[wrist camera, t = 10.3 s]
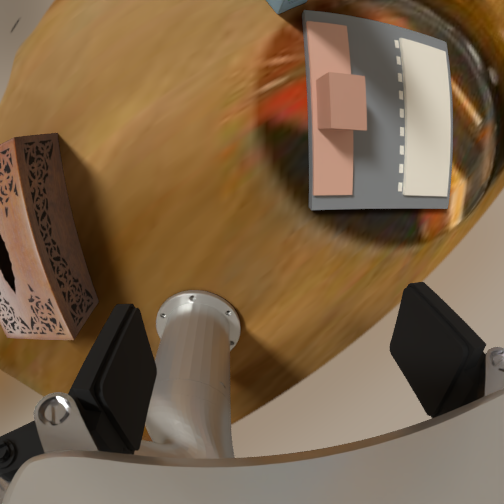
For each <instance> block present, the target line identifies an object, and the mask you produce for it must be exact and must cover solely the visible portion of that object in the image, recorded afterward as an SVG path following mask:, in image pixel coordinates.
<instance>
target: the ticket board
mask: <svg viewBox="0 0 504 504" xmlns="http://www.w3.org/2000/svg"><path fill="white" fill-rule="evenodd" d="M307 21H313V22H322V23H330V24H338V25H344V26H347V33H348V42H349V53H350V66H351V74H353V75H360V76H365V85H366V108H367V131H363V130H353V190H352V195H313V151H312V110H311V86H310V68H309V53H308V39H307V27H306V22H307ZM302 23H303V34H304V48H305V62H306V80H307V101H308V132H309V208H310V209H311V210H335V209H406V208H411V209H448V204H449V194H450V184H451V171H452V151H453V108H452V89H451V77H450V67H449V58H448V50H447V44H446V42H444V41H441V40H439V39H436V38H433V37H430V36H427V35H424V34H421V33H418V32H415V31H412V30H408V29H405V28H401V27H398V26H394V25H390V24H386V23H382V22H378V21H373V20H369V19H364V18H359V17H353V16H348V15H342V14H335V13H328V12H320V11H310V10H304V11H303V13H302Z"/></svg>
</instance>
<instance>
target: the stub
mask: <svg viewBox="0 0 504 504" xmlns="http://www.w3.org/2000/svg"><path fill="white" fill-rule="evenodd" d="M306 27H307V39H308V53H309V68H310V86H311V110H312V151H313V195H352V190H353V130H363V131H367V108H366V85H365V76H360V75H353V74H351V66H350V53H349V42H348V33H347V26H344V25H338V24H330V23H322V22H313V21H307V22H306Z"/></svg>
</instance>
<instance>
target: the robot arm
mask: <svg viewBox="0 0 504 504" xmlns="http://www.w3.org/2000/svg"><path fill="white" fill-rule="evenodd" d="M156 328H157V332H158V335H159V337H160V339H161V341H160V344H159V348H158V351H157V355H156V358H155V360H154V357H153V354H152V351H151V348H150V344H149V341H148V338H147V334H146V331H145V327H144V324H143V320H142V316H141V313H140V310H139V309H138V308H135V307H134V305H133V304H117V305H116V306H115V308H114V309H113V311H112V313H111V314H110V316H109V318H108V320H107V321H106V323H105V325H104V327H103V328H102V330H101V332H100V334H99V336H98V337H97V339H96V341H95V343H94V344H93V346H92V348H91V350H90V352H89V354H88V356H87V358H86V359H85V361H84V363H83V365H82V367H81V369H80V371H79V373H78V375H77V377H76V379H75V381H74V383H73V385H72V387H71V389H70V391H69V393H68V394H65V393H52V394H49V395H47V396H45V397H43V398H42V399H41V400H40V401H39V402H38V404H37V405H36V407H35V410H34V419H35V421H32V422H30V423H28V424H26V425H24V426H22V427H20V428H18V429H16V430H14V431H11V432H9V433H7V434H5V435H3V436H1V437H0V504H504V348H501V347H494V348H491V349H489V350H488V351H487V353H486V354H484V352H483V350H484V348H485V346H486V344H485V342H484V341H483V340H482V339H481V338H480V337H479V336H478V335H477V334H476V333H475V332H474V331H473V330H472V329H471V328H470V327H469V326H468V325H467V324H466V323H465V322H464V321H463V320H462V319H461V318H460V317H459V316H458V315H457V314H456V313H455V312H454V311H453V310H452V309H451V308H450V307H449V306H448V305H447V304H446V303H445V302H444V301H443V300H442V299H441V298H440V297H439V296H438V295H437V294H436V293H435V292H434V291H433V290H431V289H430V288H429V287H428V286H427V285H426V284H425V283H424V282H418V283H410V284H408V286H407V288H405V289H404V291H403V295H402V300H401V304H400V309H399V313H398V317H397V321H396V324H395V328H394V332H393V336H392V340H391V343H390V352H391V355H392V356H393V358H394V359H395V361H396V362H397V364H398V366H399V368H400V369H401V371H402V372H403V374H404V376H405V377H406V379H407V381H408V382H409V384H410V386H411V387H412V389H413V391H414V392H415V394H416V395H417V398H418V399H419V401H420V403H421V405H422V406H423V408H424V410H425V412H426V413H427V415H429V416H431V417H432V419H430V420H427V421H424V422H421V423H418V424H416V425H413V426H410V427H407V428H404V429H401V430H397V431H394V432H390V433H387V434H384V435H380V436H376V437H372V438H369V439H365V440H361V441H356V442H352V443H348V444H344V445H339V446H334V447H328V448H323V449H317V450H311V451H304V452H297V453H290V454H282V455H272V456H261V457H247V458H234V452H233V446H232V436H231V410H230V351H231V350H232V349H233V348H234V347H235V345H236V344H237V342H238V340H239V337H240V329H241V327H240V320H239V317H238V314H237V313H236V311H235V309H234V308H233V307H232V306H231V305H230V303H228V302H227V301H226V300H225V299H223V298H222V297H220V296H218V295H216V294H213V293H210V292H207V291H201V290H189V291H183V292H180V293H177V294H175V295H173V296H171V297H170V298H168V299H167V300H166V301H165V302H164V303H163V304H162V306H161V308H160V309H159V312H158V314H157V319H156ZM145 425H146V428H147V431H148V433H149V435H150V437H151V438H152V440H153V442H150V441H149V442H148V441H144V440H142V435H143V431H144V426H145Z"/></svg>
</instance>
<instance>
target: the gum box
mask: <svg viewBox="0 0 504 504" xmlns="http://www.w3.org/2000/svg"><path fill="white" fill-rule="evenodd" d="M266 1H267V2H268V3H269V4H270V6H271V7H272V8H273V9H274V11H275V12H276V13H277V14H280V13H282V12H285V11H287V10H289V9H291V8H294V7H296V6H299V5H301V4H304V3H306V2H307V0H266Z"/></svg>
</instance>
